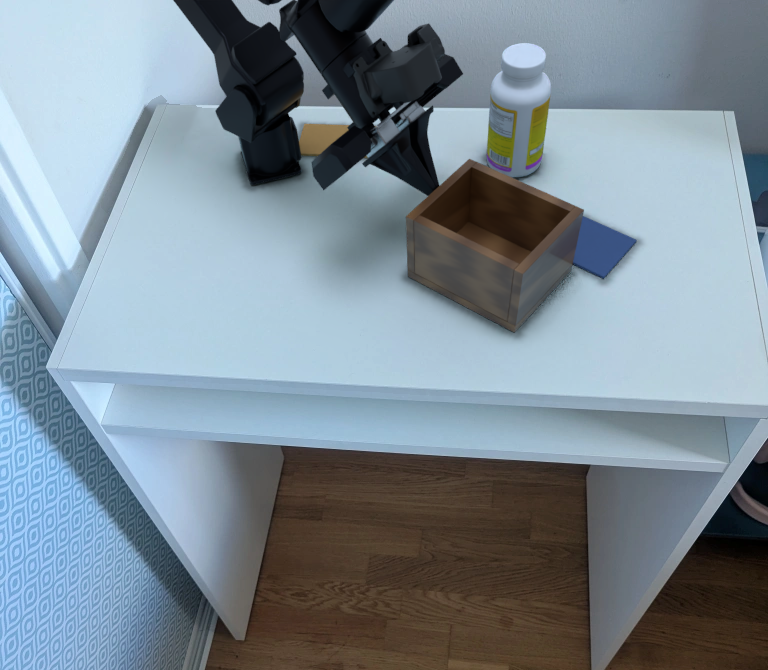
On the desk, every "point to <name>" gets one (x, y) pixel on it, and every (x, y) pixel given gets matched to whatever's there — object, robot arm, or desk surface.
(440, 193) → the crate
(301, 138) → the tan cloth
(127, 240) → the desk surface
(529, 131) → the supplement bottle
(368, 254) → the desk surface
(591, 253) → the blue cloth
